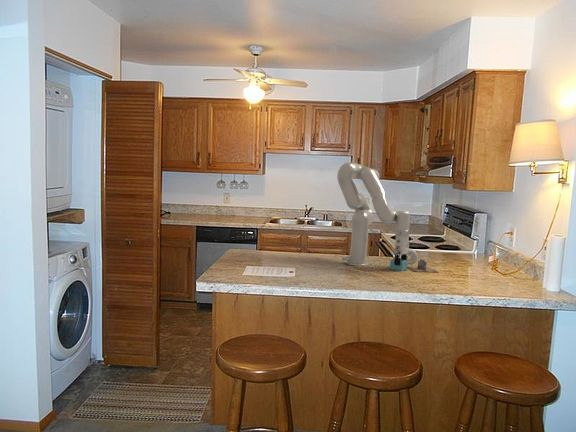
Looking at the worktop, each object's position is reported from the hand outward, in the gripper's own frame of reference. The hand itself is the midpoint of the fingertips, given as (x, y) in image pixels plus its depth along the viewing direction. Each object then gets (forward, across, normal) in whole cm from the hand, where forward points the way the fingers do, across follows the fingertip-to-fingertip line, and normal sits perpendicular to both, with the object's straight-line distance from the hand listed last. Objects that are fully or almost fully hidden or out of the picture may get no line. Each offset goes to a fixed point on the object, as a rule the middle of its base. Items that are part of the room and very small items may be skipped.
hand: (400, 263), depth 244 cm
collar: (+3, 0, +1) cm, 3 cm away
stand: (+4, 0, +1) cm, 4 cm away
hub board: (+5, +10, -9) cm, 14 cm away
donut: (+4, +22, +3) cm, 22 cm away
